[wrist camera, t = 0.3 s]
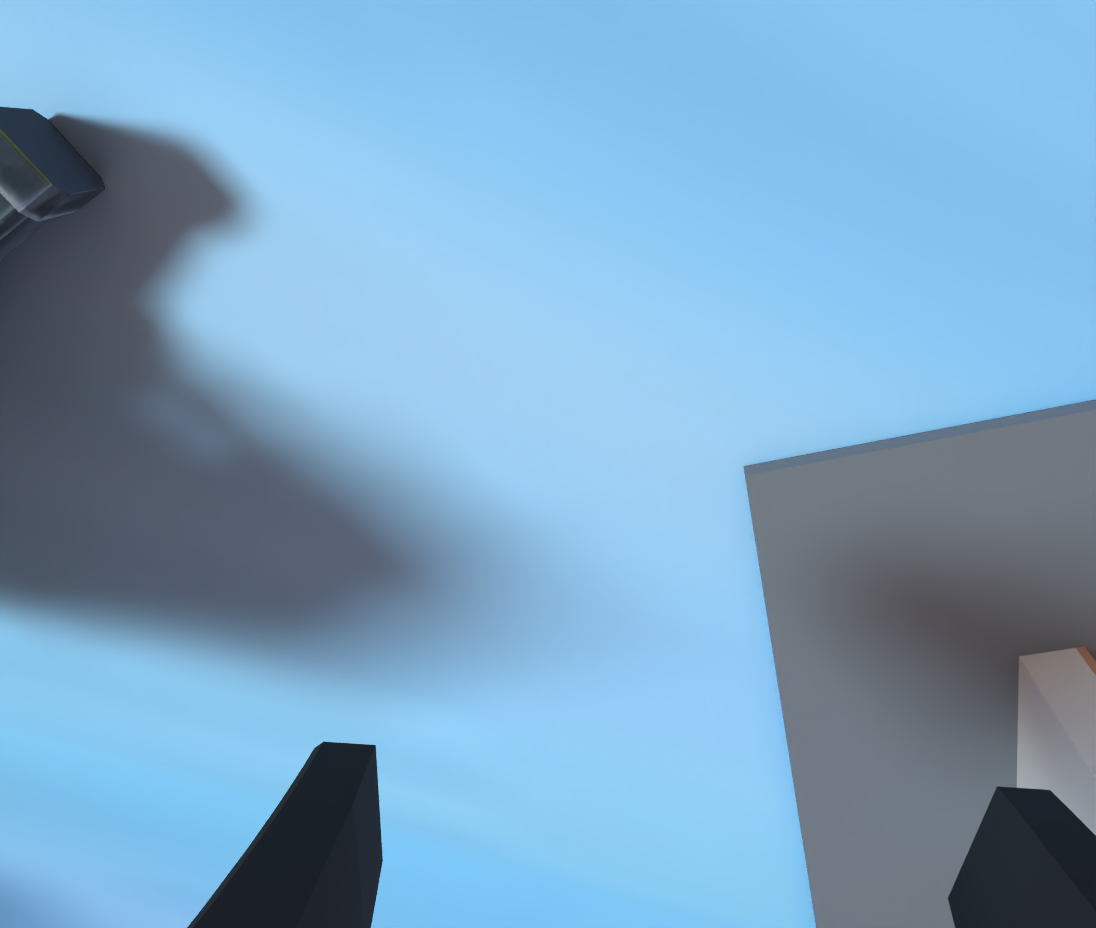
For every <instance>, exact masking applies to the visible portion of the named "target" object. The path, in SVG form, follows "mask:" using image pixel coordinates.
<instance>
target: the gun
mask: <svg viewBox="0 0 1096 928" xmlns="http://www.w3.org/2000/svg"><path fill="white" fill-rule="evenodd" d="M104 189H105V186H104V184H103V181H102V178H101V177H100V176H99V175H98V174H97V172H96V171H95V170H94V169H93V168H92V167H91V166H90V165H89V164H88V163H87V162H86V161H85V159H84V158H83V157H82V156H81V155H80V154H79V153H78V152H77V151H76V150H75V149H74V147H73V146H72V145H71V144H70V143H69V142H68V141H67V140H66V139H65V138H64V137H63V135H62V134H61V133H60V132H59V131H58V130H57V129H56V128H55V127H54V126H53V125H52V123H51V122H50V121H49V120H48V119H46V118H45V117H43V116H42V115H40V114H39V113H37V112H36V111H34V110H33V109H20V108H8V107H0V260H1V259H2V258H3V257H4V256H5V255H7V254H8V253H9V252H10V251H11V250H13V249H14V248H15V247H16V246H18V245H19V244H20V243H21V242H22V241H24V240H25V239H26V238H27V237H28V236H30V235H31V234H32V233H33V232H34V231H36V230H37V229H38V228H39V227H41V226H42V225H43V224H44V223H45V222H47V221H48V220H49V219H50V218H54V217H58V216H62V215H66V214H71V213H75V212H77V211H78V210H79V209H81V208H82V207H83V206H84V205H85V204H87V203H88V202H89V201H90V200H91V199H93V198H94V197H95V196H96V195H98V194H99V193H100V192H101V191H102V190H104Z"/></svg>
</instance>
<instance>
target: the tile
mask: <svg viewBox="0 0 1096 928" xmlns="http://www.w3.org/2000/svg"><path fill="white" fill-rule="evenodd" d="M1017 788H1029V789H1044V790H1051V791H1052V792H1053V793H1054V794H1055V795H1056V796H1057V797H1058V798H1059V799H1060V800H1061V801H1062V802H1063V803H1064V804H1065V805H1066V806H1067V807H1068V808H1069V809H1070V810H1071V811H1072V812H1073V813H1074V814H1075V815H1076V816H1077V817H1078V818H1079V819H1080V820H1081V821H1082V822H1083V823H1084V824H1085V825H1086V826H1087V827H1088V828H1089V829H1090V830H1091V831H1092V832H1093V833H1094V834H1095V835H1096V662H1095V660H1094V659H1093V657H1092V656H1091V655H1090V653H1089V652H1088V651H1087V649H1086V648H1085V647H1078V648H1071V649H1064V650H1058V651H1051V652H1044V653H1038V654H1031V655H1025V656H1019V686H1018V742H1017Z"/></svg>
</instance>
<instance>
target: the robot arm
mask: <svg viewBox="0 0 1096 928" xmlns="http://www.w3.org/2000/svg"><path fill="white" fill-rule="evenodd" d="M382 861H383V859H382V843H381V827H380V810H379V794H378V778H377V761H376V745H364V744H349V743H334V742H323V743H321V744H320V745H318V746H317V747H316V748H314V750H313V751H312V753H311V755H310V756H309V758H308V760H307V761H306V763H305V765H304V766H303V768H302V769H301V771H300V772H299V774H298V776H297V777H296V779H295V780H294V782H293V783H292V785H291V786H290V788H289V789H288V791H287V792H286V794H285V795H284V797H283V798H282V800H281V801H280V803H279V804H278V806H277V807H276V809H275V810H274V812H273V813H272V815H271V816H270V818H269V819H268V820H267V822H266V823H265V825H264V826H263V827H262V829H261V830H260V832H259V833H258V835H257V836H256V837H255V839H254V840H253V842H252V843H251V844H250V846H249V847H248V849H247V850H246V851H245V853H244V854H243V855H242V857H241V858H240V859H239V861H238V862H237V863H236V865H235V866H234V867H233V869H232V870H231V871H230V873H229V874H228V875H227V877H226V878H225V879H224V881H223V882H222V883H221V885H220V886H219V887H218V889H217V890H216V891H215V893H214V894H213V895H212V897H211V898H210V899H209V901H208V902H207V903H206V905H205V906H204V907H203V908H202V910H201V911H200V912H199V914H198V915H197V916H196V917H195V919H194V920H193V921H192V922H191V924H190V925H189V926H188V927H187V928H371V923H372V917H373V912H374V906H375V901H376V895H377V889H378V884H379V878H380V872H381V866H382ZM948 901H949V905H950V909H951V913H952V917H953V921H954V925H955V928H1096V835H1095V834H1094V833H1093V832H1092V831H1091V830H1090V829H1089V828H1088V827H1087V826H1086V825H1085V824H1084V823H1083V822H1082V821H1081V820H1080V819H1079V818H1078V817H1077V816H1076V815H1075V814H1074V813H1073V812H1072V811H1071V810H1070V809H1069V808H1068V807H1067V806H1066V805H1065V804H1064V803H1063V802H1062V801H1061V800H1060V799H1059V798H1058V797H1057V796H1056V795H1055V794H1054V793H1053V792H1052V791H1051V790H1044V789H1029V788H1014V787H999V786H997V787H996V790H995V792H994V794H993V797H992V799H991V801H990V803H989V806H988V808H987V810H986V812H985V815H984V817H983V819H982V822H981V824H980V826H979V828H978V831H977V833H976V835H975V837H974V840H973V842H972V844H971V847H970V849H969V851H968V853H967V856H966V858H965V860H964V862H963V865H962V867H961V869H960V871H959V874H958V876H957V878H956V881H955V883H954V885H953V887H952V890H951V892H950V894H949V896H948Z"/></svg>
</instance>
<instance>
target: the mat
mask: <svg viewBox="0 0 1096 928" xmlns="http://www.w3.org/2000/svg"><path fill="white" fill-rule="evenodd" d="M744 472H745V478H746V484H747V491H748V497H749V503H750V510H751V516H752V522H753V529H754V535H755V541H756V548H757V554H758V560H759V567H760V573H761V579H762V586H763V592H764V598H765V605H766V611H767V617H768V624H769V630H770V636H771V643H772V649H773V655H774V662H775V668H776V674H777V681H778V687H779V693H780V700H781V706H782V712H783V719H784V725H785V731H786V738H787V744H788V750H789V757H790V763H791V770H792V776H793V782H794V789H795V795H796V801H797V808H798V814H799V820H800V827H801V833H802V839H803V846H804V852H805V858H806V865H807V871H808V877H809V884H810V890H811V896H812V903H813V909H814V915H815V922H816V928H955V925H954V921H953V917H952V913H951V909H950V905H949V901H948V896H949V894H950V892H951V890H952V887H953V885H954V883H955V881H956V878H957V876H958V874H959V871H960V869H961V867H962V865H963V862H964V860H965V858H966V856H967V853H968V851H969V849H970V847H971V844H972V842H973V840H974V837H975V835H976V833H977V831H978V828H979V826H980V824H981V822H982V819H983V817H984V815H985V812H986V810H987V808H988V806H989V803H990V801H991V799H992V797H993V794H994V792H995V790H996V787H997V786H999V787H1014V788H1017V742H1018V686H1019V656H1025V655H1031V654H1038V653H1044V652H1051V651H1058V650H1064V649H1071V648H1078V647H1085V648H1086V649H1087V651H1088V652H1089V653H1090V655H1091V656H1092V657H1093V659H1094V660H1095V662H1096V400H1092V401H1087V402H1081V403H1076V404H1071V405H1066V406H1060V407H1055V408H1050V409H1045V410H1039V411H1034V412H1029V413H1023V414H1018V415H1013V416H1008V417H1002V418H997V419H992V420H986V421H981V422H976V423H971V424H965V425H960V426H955V427H949V428H944V429H939V430H934V431H928V432H923V433H918V434H913V435H907V436H902V437H897V438H891V439H886V440H881V441H876V442H870V443H865V444H860V445H854V446H849V447H844V448H839V449H833V450H828V451H823V452H818V453H812V454H807V455H802V456H796V457H791V458H786V459H781V460H775V461H770V462H765V463H759V464H754V465H749V466H744Z"/></svg>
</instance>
